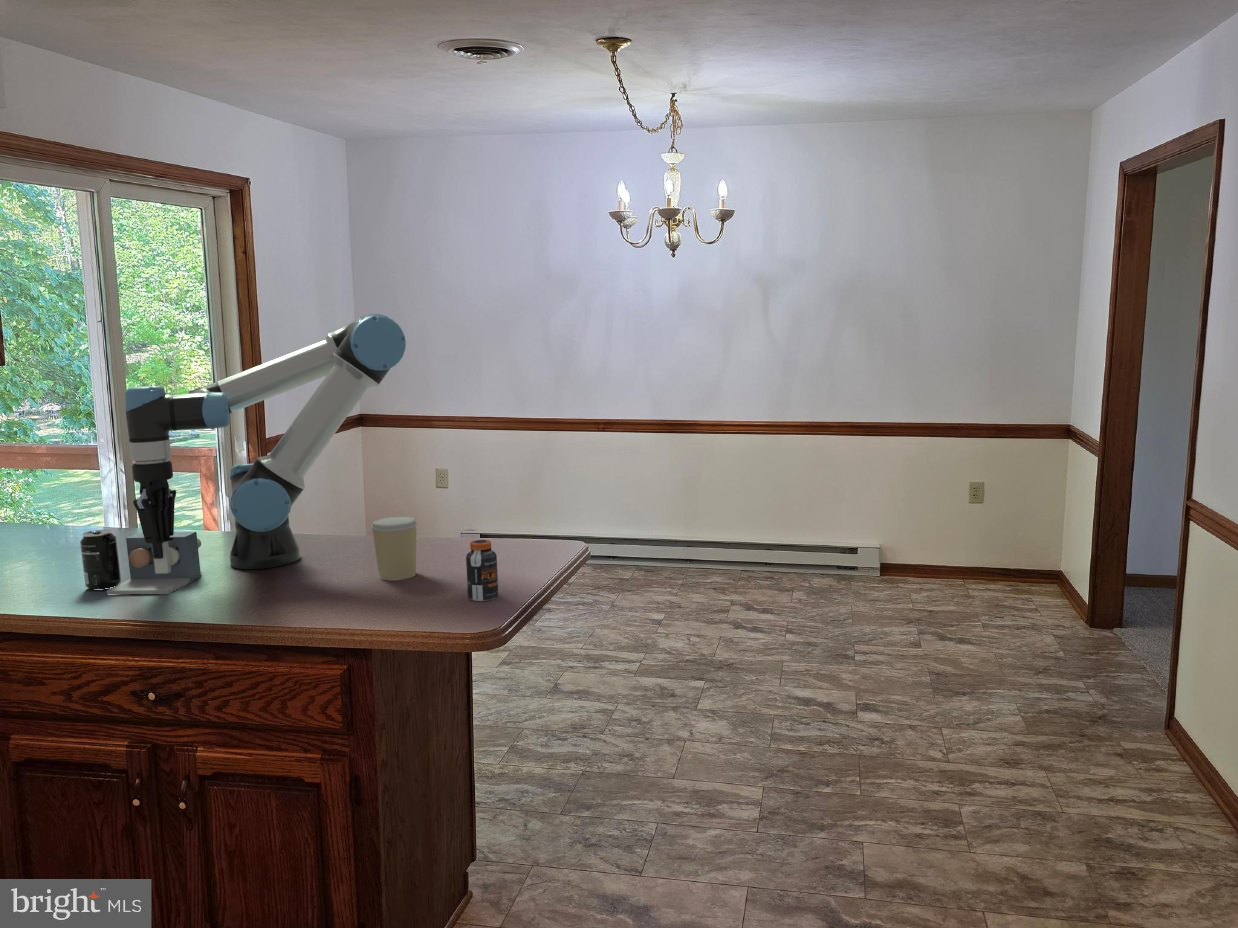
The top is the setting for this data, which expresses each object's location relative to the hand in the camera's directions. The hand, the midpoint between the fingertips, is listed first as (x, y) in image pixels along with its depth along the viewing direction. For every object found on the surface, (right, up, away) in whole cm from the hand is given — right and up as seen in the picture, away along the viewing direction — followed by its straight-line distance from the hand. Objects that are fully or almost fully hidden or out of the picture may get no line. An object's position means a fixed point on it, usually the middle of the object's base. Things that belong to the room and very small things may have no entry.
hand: (163, 572), depth 206 cm
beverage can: (-14, -4, +3) cm, 15 cm away
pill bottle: (+69, -4, -14) cm, 71 cm away
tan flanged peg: (-6, +2, +9) cm, 11 cm away
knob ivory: (0, +2, +9) cm, 9 cm away
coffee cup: (+48, -1, +5) cm, 48 cm away
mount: (-3, -3, +3) cm, 5 cm away
